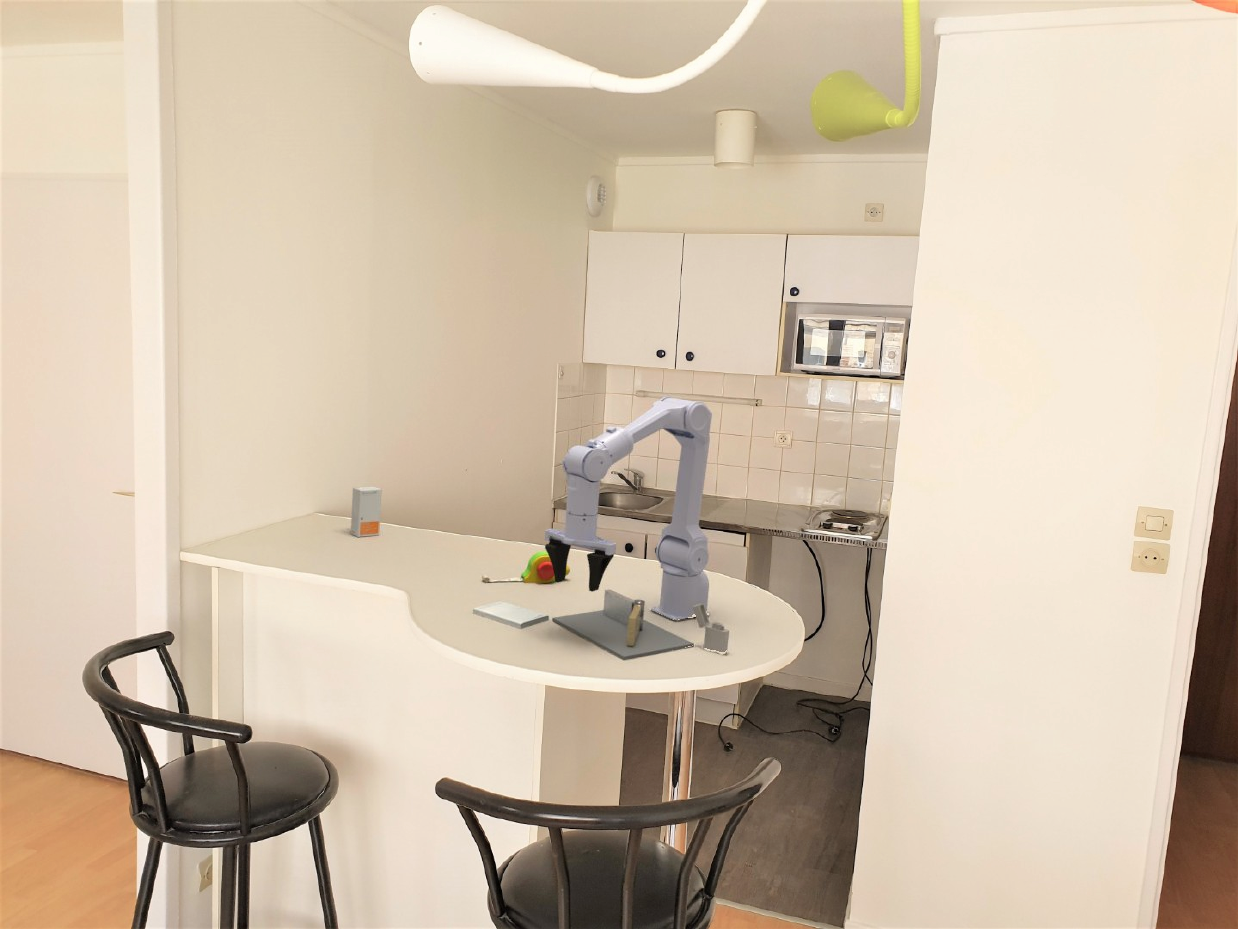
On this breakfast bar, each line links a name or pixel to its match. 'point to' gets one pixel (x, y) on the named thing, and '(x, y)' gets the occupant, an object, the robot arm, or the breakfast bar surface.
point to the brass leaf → (635, 621)
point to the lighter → (711, 630)
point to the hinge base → (620, 629)
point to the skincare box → (366, 511)
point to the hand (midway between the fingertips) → (576, 585)
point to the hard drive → (510, 614)
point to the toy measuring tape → (534, 571)
